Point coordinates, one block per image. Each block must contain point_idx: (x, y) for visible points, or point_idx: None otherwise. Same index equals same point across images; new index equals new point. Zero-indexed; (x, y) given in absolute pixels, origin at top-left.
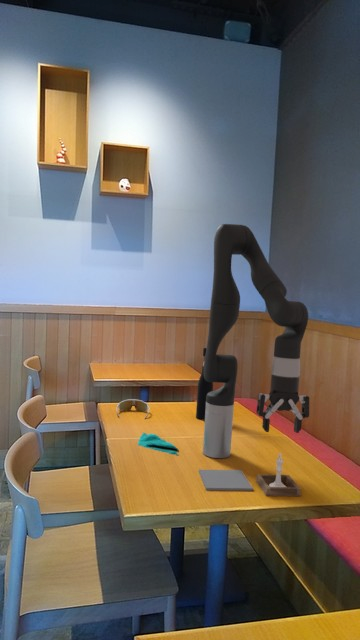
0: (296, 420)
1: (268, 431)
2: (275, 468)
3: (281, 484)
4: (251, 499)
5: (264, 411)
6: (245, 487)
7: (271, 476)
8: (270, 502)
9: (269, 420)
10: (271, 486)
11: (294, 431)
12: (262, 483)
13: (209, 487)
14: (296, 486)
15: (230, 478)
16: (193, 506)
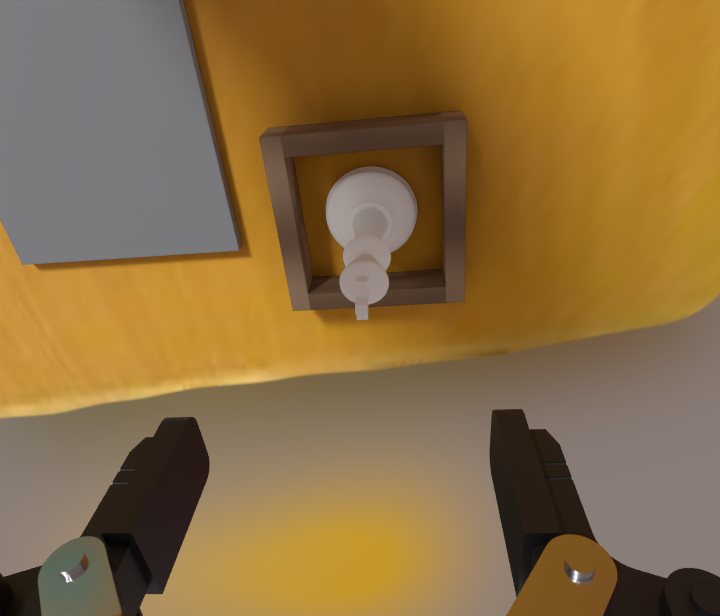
0: (515, 562)
1: (205, 472)
2: (344, 255)
3: (387, 229)
4: (231, 326)
5: (43, 614)
6: (202, 244)
7: (348, 151)
8: (307, 344)
9: (165, 578)
10: (333, 231)
11: (491, 420)
12: (281, 246)
13: (35, 258)
14: (451, 278)
15: (116, 136)
16: (24, 386)
